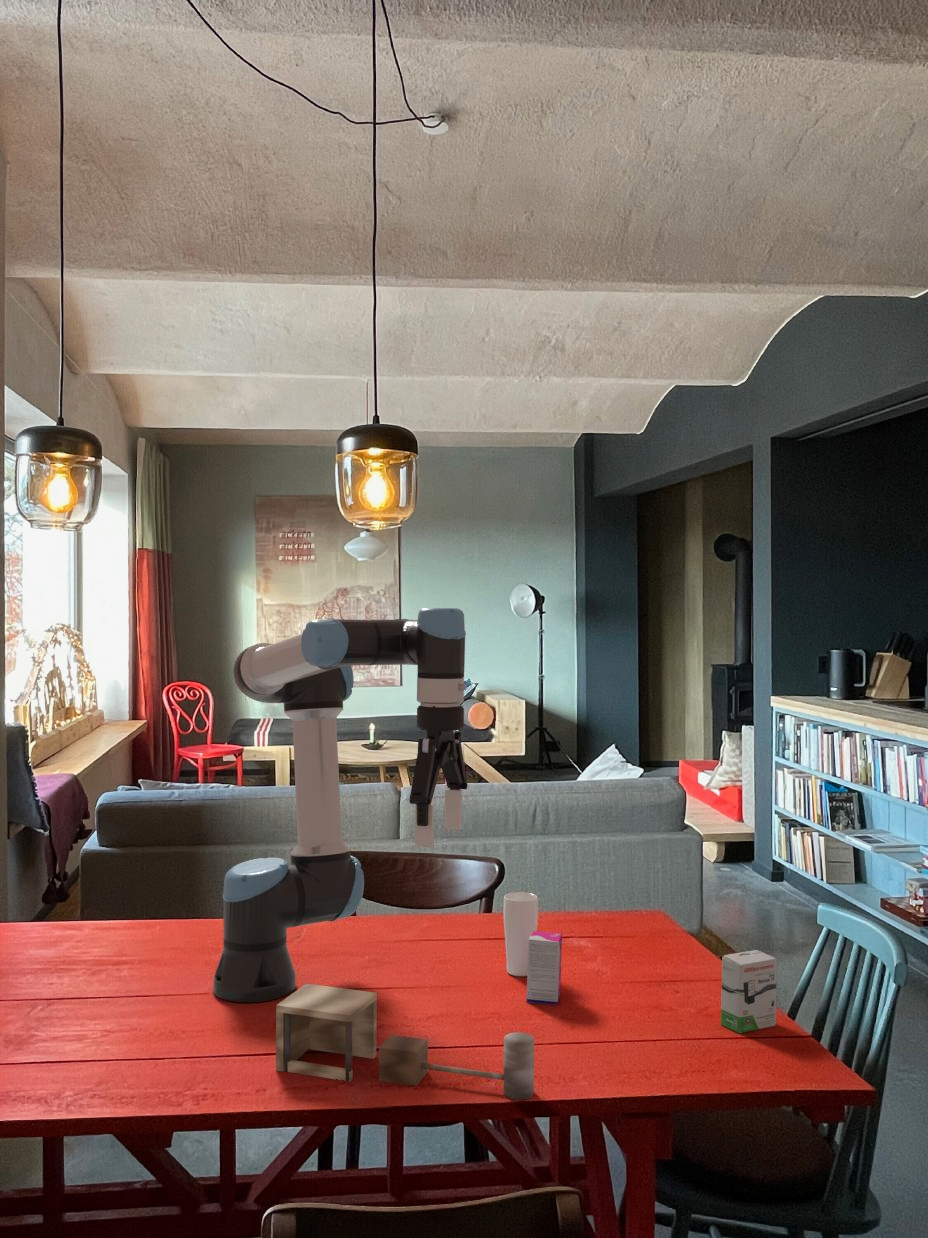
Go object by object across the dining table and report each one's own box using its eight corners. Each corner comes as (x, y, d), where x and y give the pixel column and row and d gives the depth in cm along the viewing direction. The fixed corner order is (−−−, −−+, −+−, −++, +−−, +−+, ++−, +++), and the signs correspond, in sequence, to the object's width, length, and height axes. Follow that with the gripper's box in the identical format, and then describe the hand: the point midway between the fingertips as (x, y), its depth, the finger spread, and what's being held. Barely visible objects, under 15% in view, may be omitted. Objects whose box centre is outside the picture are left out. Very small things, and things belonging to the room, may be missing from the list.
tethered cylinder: (378, 1080, 156) (379, 1027, 156) (390, 1067, 161) (391, 1015, 161) (529, 1103, 149) (529, 1047, 149) (537, 1088, 154) (537, 1034, 154)
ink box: (739, 1035, 174) (739, 964, 174) (719, 1024, 179) (719, 955, 179) (778, 1026, 178) (778, 956, 178) (757, 1016, 183) (758, 948, 183)
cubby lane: (275, 1070, 159) (276, 1005, 159) (305, 1045, 169) (306, 983, 169) (349, 1082, 155) (350, 1015, 155) (376, 1056, 165) (376, 993, 165)
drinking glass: (498, 976, 202) (498, 899, 202) (509, 965, 208) (510, 890, 208) (531, 980, 199) (531, 902, 199) (541, 970, 206) (542, 894, 206)
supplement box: (558, 1005, 187) (559, 941, 187) (525, 1002, 188) (526, 939, 188) (562, 994, 193) (562, 932, 193) (530, 991, 194) (530, 930, 194)
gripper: (436, 712, 152) (434, 856, 153) (486, 699, 176) (484, 824, 176) (388, 710, 155) (387, 852, 155) (444, 698, 179) (443, 821, 179)
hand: (439, 837), depth 166 cm, fingers open, 13 cm apart
